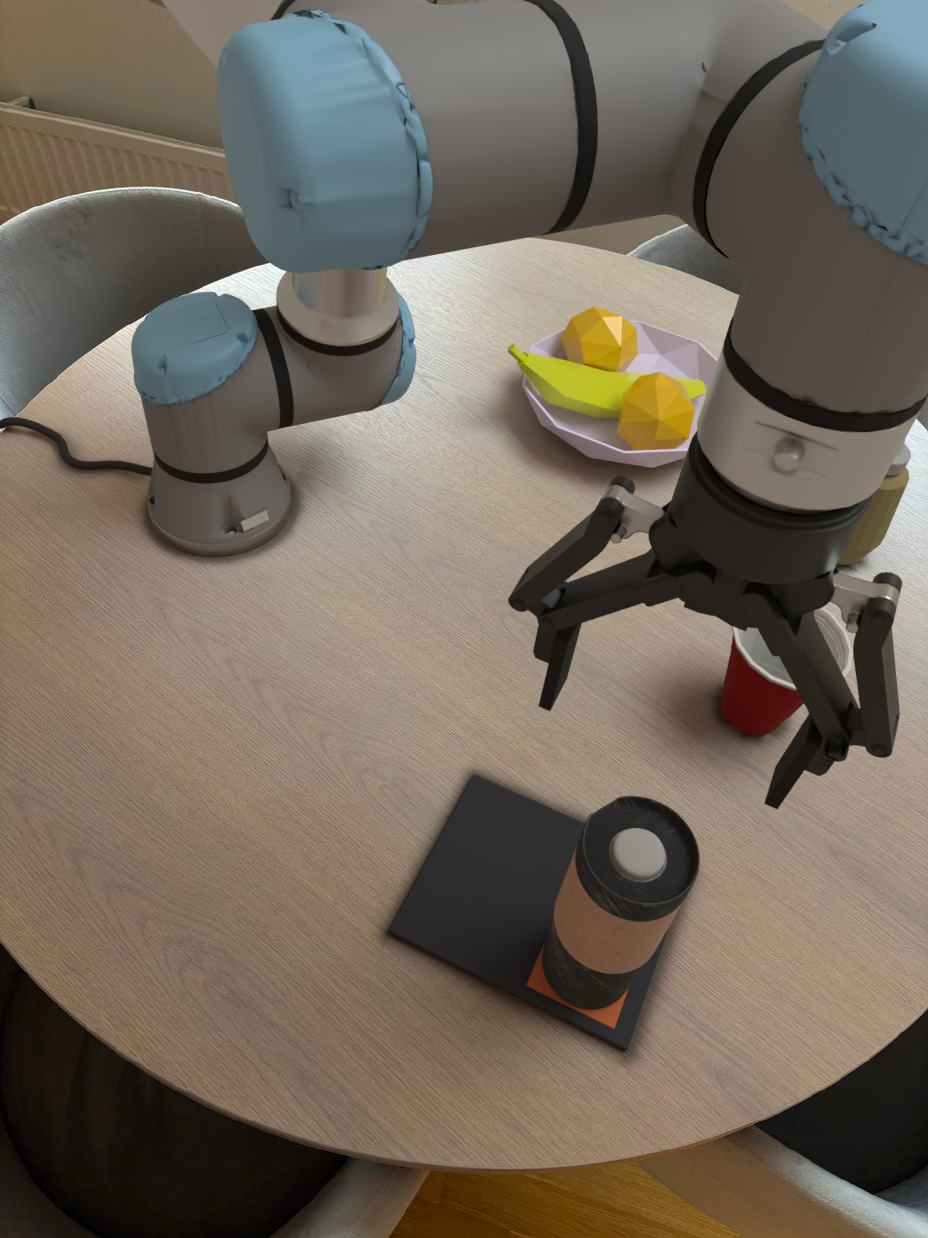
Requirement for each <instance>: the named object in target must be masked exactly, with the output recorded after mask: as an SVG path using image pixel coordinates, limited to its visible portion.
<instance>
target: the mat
mask: <svg viewBox="0 0 928 1238" xmlns="http://www.w3.org/2000/svg"><path fill="white" fill-rule="evenodd" d="M461 795H462V796H461V797H460V799H459V800H458V803H457V805H456V806H455V809H454V810H453V812H452V814H451V815H450V817H449V820H448V821H447V824H446V825H445V827H444V829H443V831H442V833H441V834H440V836H439V838H438V839H437V842H436V844H435V845H434V847H433V849H432V851H431V852H430V854H429V856H428V858H427V860H426V862H425V864H424V865H423V867H422V870H421V871H420V873H419V875H418V877H417V879H416V881H415V882H414V885H413V886H412V887H411V890H410V892H409V893H408V895H407V898H406V899H405V901H404V903H403V904H402V906H401V908H400V910H399V912H398V914H397V916H396V917H395V919H394V921H393V923H392V925H391V927H390V929H389V934H390V935H393V936H395V937H396V938H398V939H400V940H402V941H404V942H407V943H408V944H411V945H412V946H414V947H416V948H419V949H421V950H423V951H425V952H426V953H428V954H431V955H432V956H435V958H439V959H440V960H442V961H445V962H446V963H449V964H450V965H452V966H455V967H456V968H459V969H460V970H463V971H465V972H466V973H469V974H470V975H473V976H475V977H476V978H479V979H480V980H482V981H485V982H486V983H489V984H491V985H492V986H495V987H496V988H498V989H500V990H503V991H505V992H507V993H508V994H510V995H513V996H514V997H517V998H519V999H521V1000H522V1001H525V1002H526V1003H528V1004H531V1005H532V1006H534V1007H537V1008H538V1009H541V1010H542V1011H545V1012H547V1013H549V1014H551V1015H552V1016H555V1017H556V1018H559V1019H560V1020H563V1021H564V1022H566V1023H568V1024H571V1025H572V1026H574V1027H577V1028H579V1029H581V1030H583V1031H585V1032H586V1033H588V1034H591V1035H593V1036H595V1037H597V1038H598V1039H600V1040H602V1041H605V1042H606V1043H608V1044H611V1045H613V1046H614V1047H617V1048H619V1049H621V1050H623V1051H624V1052H627V1051H628V1050H629V1047H630V1043H631V1041H632V1038H633V1035H634V1032H635V1029H636V1026H637V1022H638V1021H639V1017H640V1015H641V1011H642V1008H643V1005H644V1002H645V1000H646V996H647V993H648V990H649V988H650V984H651V982H652V979H653V976H654V973H655V970H656V967H657V964H658V961H659V958H660V955H661V952H662V950H663V946H664V944H665V940H666V938H667V935H668V932H669V928H670V927H669V928H668V929H667V931H666V933H665V935H664V936H663V938H662V940H661V941H660V943H659V945H658V947H657V948H656V950H655V952H654V953H653V955H652V956H651V958H650V959H649V961H648V962H647V963H646V965H645V966H644V968H643V969H642V970H641V972H640V973H639V975H638V976H637V977H636V979H635V980H634V981H633V983H632V984H631V986H630V987H629V988H628V990H627V991H626V992H625V993H624V995H623V996H622V997H621V998H620V999H619V1000H617V1001H616V1002H615V1003H613V1004H612V1005H610V1006H607V1007H605V1008H601V1009H594V1010H590V1009H582V1008H578V1007H575V1006H573V1005H570V1004H569V1003H567V1002H565V1001H564V1000H563V999H561V998H560V997H559V996H558V995H557V994H556V993H555V992H554V991H553V989H552V988H551V987H550V985H549V983H548V981H547V979H546V977H545V974H544V971H543V966H542V953H543V947H544V943H545V939H546V935H547V932H548V928H549V924H550V921H551V917H552V913H553V910H554V906H555V903H556V900H557V897H558V894H559V892H560V889H561V886H562V884H563V881H564V878H565V876H566V873H567V871H568V868H569V865H570V863H571V860H572V857H573V855H574V852H575V849H576V847H577V844H578V841H579V839H580V836H581V833H582V831H583V828H584V825H585V823H586V822H584V821H580V820H578V819H576V818H574V817H572V816H570V815H567V814H565V813H563V812H560V811H558V810H557V809H553V808H551V807H549V806H547V805H545V804H543V803H540V802H538V801H536V800H534V799H531V798H529V797H527V796H524V795H522V794H520V793H518V792H516V791H514V790H511V789H509V788H508V787H507V788H506V787H505V786H502V785H500V784H498V783H496V782H493V781H491V780H489V779H486V778H485V777H481V776H480V775H478V774H475V773H474V774H472V777H471V779H470V781H469V782H468V784H467V787H466V788H465V790H464V792H463V793H462V794H461Z"/></svg>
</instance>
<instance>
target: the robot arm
mask: <svg viewBox="0 0 928 1238" xmlns="http://www.w3.org/2000/svg"><path fill="white" fill-rule="evenodd" d="M147 1H148V2H150V3H151V4H154V5H156V6H159V7H161V8H164V9H166V10H168V11H169V12H170V14H171V15H172V16H173V18H174V19H175V20H176V22H177V23H178V24H179V25H180V27H181V28H182V29H183V31H184V32H185V33H186V35H187V36H188V37H189V39H190V40H191V41H192V43H194V45H195V47H196V48H197V49H198V51H199V52H200V53H201V55H202V56H203V57H204V58H205V59H206V61H207V62H208V64H209V65H210V66H211V67H212V69H213V70H214V72H215V73H216V104H217V113H218V122H219V128H220V129H219V130H220V135H221V142H222V147H223V153H224V158H225V162H226V167H227V171H228V175H229V180H230V184H231V188H232V192H233V194H234V198H235V201H236V203H237V206H238V207H239V208H240V209H241V212H242V215H243V218H244V222H245V226H246V231H247V232H248V235H249V238H250V239H251V241H252V243H253V244H254V246H255V248H256V249H257V251H258V252H259V253H260V255H261V256H262V257H263V258H264V259H265V260H266V261H267V262H268V263H270V264H271V265H272V266H274V267H275V268H277V269H279V270H281V271H284V274H283V275H282V276H281V278H280V280H279V281H278V284H277V287H276V293H275V300H276V301H275V303H276V305H272V306H267V307H261V308H255V309H251V308H250V306H249V305H248V304H247V303H246V302H245V301H244V300H242V299H241V298H240V297H237V296H235V295H232V294H229V293H225V292H224V293H222V294H221V295H218V293H216V291H201V292H200V291H199V292H192V293H187V294H183V295H179V296H177V297H174V298H172V299H169V300H167V301H165V302H163V303H161V304H159V305H158V306H156V307H155V308H154V309H152V310H151V311H149V312H148V313H147V314H146V315H145V317H144V319H143V320H142V321H141V322H139V324H138V325H137V327H136V328H135V331H134V333H133V334H132V335H133V336H132V338H131V345H130V351H131V352H130V354H131V359H132V360H131V361H132V367H133V382H134V383H133V384H134V386H135V389H136V391H137V393H138V395H139V396H140V401H141V404H142V409H143V413H144V418H145V422H146V426H147V427H146V428H147V432H148V436H149V441H150V445H151V449H152V453H153V462H152V463H153V464H152V467H151V466H146V465H142V464H137V463H134V462H129V461H126V460H125V461H124V460H113V459H112V460H93V461H91V460H90V461H89V460H80V459H78V458H76V457H73V456H72V455H71V454H70V451H69V448H68V444H67V442H66V440H65V438H64V437H63V436H62V435H61V434H60V433H59V432H57V431H55V430H54V429H52V428H50V427H48V426H46V425H44V424H42V423H39V422H38V421H34V420H32V419H28V418H23V417H18V416H9V417H4V418H2V419H0V430H3V429H6V428H8V427H12V426H13V427H14V426H15V427H22V428H25V429H29V430H31V431H34V432H37V433H39V434H42V435H43V436H45V437H47V438H49V439H50V440H52V441H54V442H55V444H56V445H57V448H58V453H59V455H60V458H61V459H62V461H63V462H64V463H65V464H67V465H68V466H70V467H71V468H74V469H78V470H84V471H102V470H120V471H126V472H130V473H135V474H138V475H143V476H146V477H150V480H149V485H148V489H147V496H146V504H147V511H148V514H149V518H150V522H151V524H152V526H153V528H154V530H155V532H156V533H157V534H158V535H159V537H160V538H162V539H163V540H164V541H165V542H166V543H168V544H170V545H171V546H173V547H174V548H176V549H179V550H180V551H184V552H187V553H189V554H195V555H200V556H209V557H215V556H217V557H218V556H221V557H222V556H230V555H236V554H240V553H245V552H247V551H251V550H253V549H256V548H258V547H259V546H261V545H264V544H266V543H267V542H268V541H270V540H271V539H272V538H274V537H275V536H276V535H277V534H278V533H279V532H280V531H281V530H282V529H283V528H284V526H285V525H286V523H287V522H288V520H289V518H290V516H291V512H292V508H293V497H292V489H291V483H290V481H289V478H288V476H287V474H286V472H285V470H284V469H283V468H282V466H281V465H280V464H279V462H278V459H277V457H276V455H275V453H274V451H273V449H272V447H271V445H270V443H269V436H268V435H269V434H268V433H269V432H272V431H277V430H281V429H286V428H290V427H294V426H295V427H296V426H301V425H305V424H309V423H315V422H320V421H324V420H329V419H330V420H331V419H333V418H340V417H343V416H344V417H345V416H349V415H354V414H358V413H363V412H371V411H374V410H376V409H377V408H380V407H381V406H384V405H389V404H392V403H395V402H397V401H398V400H400V399H401V398H402V397H403V396H404V395H405V394H406V393H407V391H408V390H409V388H410V386H411V384H412V381H413V379H414V375H415V371H416V365H417V348H416V346H415V343H414V342H415V339H416V338H417V337H416V330H415V324H414V320H413V317H412V314H411V310H410V308H409V305H408V303H407V301H406V300H405V298H404V297H403V295H402V294H401V293H400V292H399V291H398V290H397V289H396V287H395V285H394V283H393V282H392V281H391V280H390V278H389V277H388V276H387V275H388V267H392V266H395V265H396V264H399V263H401V262H403V261H404V262H405V261H409V260H414V259H415V260H416V259H420V258H426V257H432V256H437V255H442V254H447V253H453V252H459V251H463V250H468V249H474V248H479V247H484V246H485V247H486V246H491V245H496V244H501V243H506V242H511V241H518V240H522V239H528V238H533V237H538V236H546V235H552V234H557V233H563V232H570V231H575V230H581V229H582V230H583V229H587V228H593V227H598V226H606V225H611V224H616V223H622V222H628V221H633V220H640V219H644V218H645V219H646V218H651V217H656V216H661V215H662V216H666V215H668V216H673V217H676V218H678V219H680V220H681V221H682V222H684V223H685V224H686V225H687V226H688V227H690V228H691V229H692V230H693V231H694V232H696V234H698V236H700V237H701V238H703V239H704V240H705V242H706V243H707V244H709V245H710V247H712V248H713V250H715V251H716V252H717V253H719V254H720V255H721V256H722V257H724V258H726V259H728V260H730V261H731V262H733V263H734V264H735V265H736V266H737V267H739V268H740V269H741V273H742V275H743V282H742V285H741V288H740V292H739V295H738V298H737V303H736V304H735V307H734V308H735V309H734V311H733V315H732V317H731V319H730V322H729V326H728V328H727V332H726V335H725V337H724V340H723V343H722V344H723V345H722V347H721V350H720V353H719V356H718V358H717V360H718V362H717V365H716V368H715V371H714V374H713V377H712V380H711V382H710V385H709V388H708V391H707V394H706V397H705V400H704V403H703V406H702V409H701V412H700V415H699V418H698V421H697V431H696V433H695V434H694V436H693V437H692V440H691V443H690V445H689V448H688V451H687V454H686V457H685V458H684V460H683V464H682V466H681V470H680V473H679V476H678V478H677V481H676V485H675V487H674V490H673V494H672V497H671V500H670V501H669V502H667V503H666V504H664V505H663V506H662V507H660V506H658V505H656V504H654V503H652V502H651V501H648V500H646V499H643V498H641V497H639V496H637V495H635V491H636V485H635V482H634V481H633V480H632V478H629V477H628V476H625V475H616V476H614V477H613V478H612V479H611V480H610V482H609V484H608V486H607V487H606V489H605V491H604V492H603V495H601V498H600V499H599V501H598V503H597V505H596V506H595V508H594V510H593V511H592V512H590V513H589V515H587V516H586V517H584V518H583V519H582V520H581V521H580V522H579V523H577V524H576V525H575V526H574V527H573V528H572V529H570V530H569V531H568V532H567V533H566V534H565V535H563V536H562V537H561V538H560V539H559V540H558V541H556V542H555V543H554V544H552V545H551V547H549V548H548V549H547V550H546V551H545V552H543V553H541V555H540V556H539V557H538V558H536V559H535V560H534V561H532V563H530V564H529V565H528V566H527V567H526V569H525V570H524V572H523V574H521V576H520V578H519V580H518V581H517V583H516V585H515V586H514V588H513V590H512V591H511V593H510V595H509V597H508V598H507V603H508V605H509V607H511V608H512V609H513V610H515V611H517V612H520V613H525V612H527V611H528V612H530V613H531V614H532V615H534V616H535V617H536V619H537V625H538V626H537V631H536V634H535V639H534V645H533V648H532V652H533V655H534V658H535V659H537V660H539V661H541V662H544V663H547V664H548V665H547V669H546V673H545V677H544V681H543V685H542V690H541V692H540V693H541V694H540V698H539V702H538V707H539V708H541V709H543V710H545V711H548V712H551V711H552V709H553V707H554V705H555V703H556V701H557V700H558V698H559V695H560V693H561V692H562V690H563V687H564V685H565V683H566V682H567V679H568V677H569V673H570V669H571V665H572V662H573V659H574V658H573V657H574V655H575V651H576V648H577V647H576V646H577V643H578V641H579V640H578V639H579V636H580V632H581V628H582V625H583V623H586V622H589V621H592V620H596V619H598V618H602V617H605V616H609V615H611V614H615V613H617V612H620V611H623V610H627V609H630V608H633V607H636V606H639V605H641V604H644V605H645V606H646V607H647V608H651V607H653V606H658V605H660V604H663V603H666V602H670V601H673V600H677V599H679V600H681V601H682V602H683V603H684V604H683V608H685V609H687V610H690V611H692V612H695V613H698V614H702V615H708V616H712V617H716V618H717V619H719V620H721V621H722V622H724V623H726V624H727V625H729V626H731V627H732V626H733V627H736V628H738V629H741V630H743V631H746V630H747V628H748V627H749V628H757V629H758V630H759V632H760V634H761V636H762V638H763V640H764V642H765V643H766V645H767V647H768V649H769V651H770V653H771V654H772V656H774V657H775V656H779V657H780V659H781V661H782V663H783V665H784V667H785V669H786V670H787V672H788V674H789V676H790V678H791V680H792V682H793V684H794V685H795V687H796V689H797V691H798V693H799V695H800V697H801V699H802V700H803V702H804V704H803V705H804V706H805V708H806V710H807V712H808V715H807V716H806V717H805V719H804V721H803V722H802V724H801V725H800V727H799V729H798V730H797V732H796V733H795V735H794V737H793V738H792V739H791V741H790V742H789V744H788V745H787V748H786V749H785V751H784V752H783V754H782V755H781V757H780V758H779V760H778V761H777V763H776V765H775V767H774V770H773V773H772V777H771V780H770V782H769V783H770V784H769V786H768V790H767V793H766V796H765V799H764V803H763V804H764V805H765V806H769V807H770V808H773V809H775V810H778V809H779V808H780V806H781V805H782V803H783V802H784V800H786V798H787V796H788V795H789V793H790V792H791V791H792V789H793V788H794V786H795V785H796V783H797V782H798V781H799V780H800V777H801V776H802V775H803V773H804V772H808V773H810V774H813V775H815V776H818V777H821V776H823V775H826V774H827V773H828V772H829V770H830V769H831V767H832V766H833V764H834V763H835V762H836V763H839V762H840V763H841V762H843V761H846V760H847V758H848V755H849V751H850V748H851V747H852V746H853V747H854V746H857V747H864V748H865V751H866V752H867V753H868V754H869V755H871V756H872V757H875V758H879V759H885V758H889V757H890V756H891V755H892V754H893V749H894V746H895V741H896V736H897V731H898V728H899V727H898V726H899V721H900V716H901V709H900V700H899V690H898V679H897V670H896V667H897V666H896V657H895V647H894V638H893V637H894V636H893V625H894V621H895V618H896V613H897V609H898V605H899V600H900V597H901V591H902V587H903V580H902V578H901V577H900V576H899V575H898V574H896V573H894V572H889V571H884V572H883V571H882V572H879V573H876V575H875V576H874V577H873V579H872V580H871V581H869V580H866V579H862V578H859V577H856V576H852V575H849V574H845V573H841V572H840V570H839V566H838V564H837V563H838V561H839V559H840V557H841V556H842V554H843V552H844V550H845V548H846V547H847V545H848V543H849V541H850V539H851V538H852V536H853V534H854V532H855V530H856V529H857V527H858V525H859V523H860V521H861V520H862V518H863V516H864V514H865V512H866V511H867V509H868V507H869V505H870V502H871V500H872V494H873V493H874V492H875V491H876V490H877V489H878V488H879V486H880V485H881V483H882V481H883V479H884V477H885V475H886V473H887V472H888V470H889V468H890V466H891V464H892V462H893V460H894V459H895V457H896V455H897V453H898V451H899V449H900V448H901V446H902V444H903V442H904V440H905V441H906V439H905V438H907V436H908V435H909V433H910V431H911V429H912V427H913V426H914V423H915V421H916V419H917V418H918V416H919V414H920V412H921V411H922V408H923V406H924V405H925V403H926V401H927V400H928V0H866V1H863V2H862V3H859V4H857V5H855V6H853V7H852V8H850V9H849V10H848V11H846V12H845V13H844V14H843V15H842V16H841V17H840V18H838V20H837V21H836V22H835V23H834V24H833V26H832V27H831V28H830V30H828V29H826V28H825V27H823V26H822V25H821V24H819V23H817V22H816V21H814V20H812V19H811V18H809V17H808V16H806V15H805V14H803V13H801V12H799V11H798V10H797V9H795V8H793V7H792V6H790V4H787V3H785V2H784V1H783V0H493V1H492V0H491V1H478V2H476V1H475V2H463V3H451V4H439V3H438V0H147ZM637 533H645V534H646V535H648V537H647V538H648V541H649V545H650V547H651V548H650V549H648V551H647V552H645V553H642V554H640V555H637V556H635V557H632V558H629V559H626V560H623V561H621V562H619V563H615V564H613V565H610V566H608V567H605V568H602V569H599V570H597V571H594V572H593V573H589V574H586V575H584V576H581V577H578V578H576V579H572V580H571V581H567V580H568V579H570V578H571V577H572V576H573V575H574V574H576V573H578V572H579V571H580V570H581V569H583V568H584V567H586V566H587V565H588V564H589V563H590V562H592V561H593V560H594V559H595V558H597V557H598V556H599V555H600V554H601V553H602V552H603V551H604V550H605V549H606V547H607V546H608V544H609V542H611V543H613V544H620V543H622V540H628V539H630V538H631V537H632V536H633V535H634V534H637ZM829 603H832V604H834V605H836V606H837V607H838V608H839V610H840V613H841V620H842V621H843V623H844V624H845V630H846V632H847V633H850V634H855V636H854V639H853V644H852V649H853V656H852V658H853V664H854V671H855V679H856V687H857V694H858V702H857V700H856V698H855V696H854V694H853V692H852V691H851V687H850V686H849V684H848V683H847V680H846V678H845V677H844V676H843V674H842V672H841V670H840V668H839V666H838V664H837V662H836V660H835V658H834V656H833V654H832V652H831V650H830V648H829V646H828V644H827V642H826V640H825V638H824V636H823V634H822V632H821V630H820V628H819V626H818V624H817V622H816V620H815V617H814V610H817V609H820V608H822V607H823V608H825V607H826V606H827V605H828V604H829ZM858 703H859V704H858Z"/></svg>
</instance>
